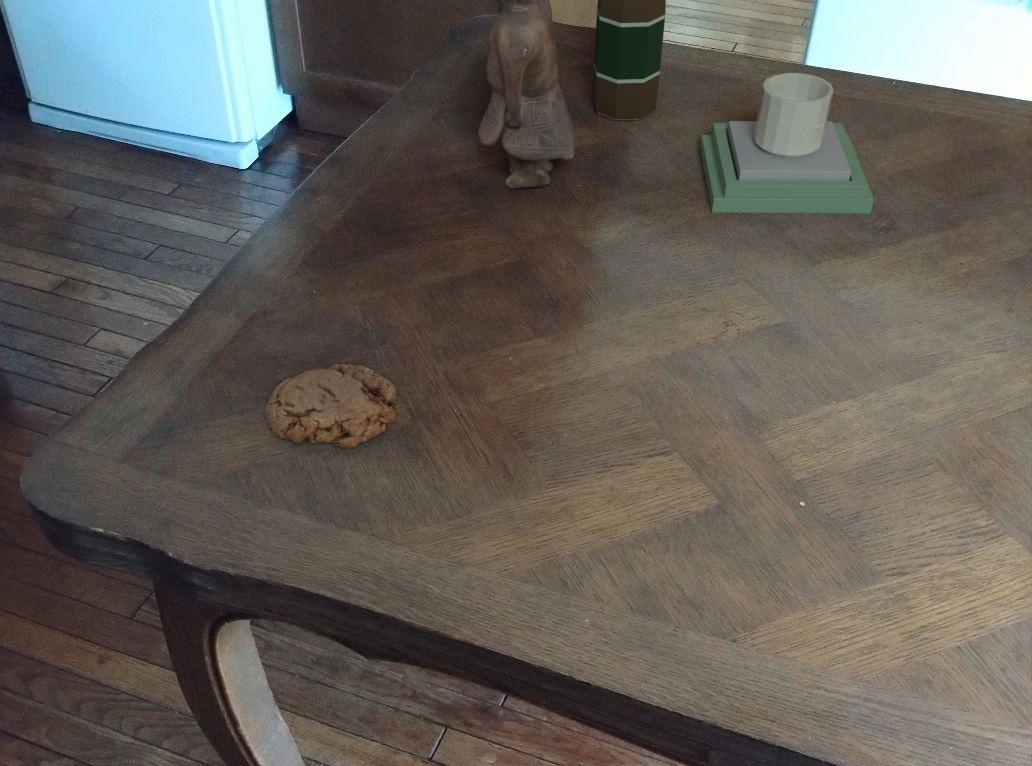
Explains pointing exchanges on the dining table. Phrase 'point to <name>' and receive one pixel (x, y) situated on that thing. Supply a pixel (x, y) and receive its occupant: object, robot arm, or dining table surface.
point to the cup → (793, 114)
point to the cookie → (332, 406)
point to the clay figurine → (526, 94)
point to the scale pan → (786, 158)
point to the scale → (780, 184)
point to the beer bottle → (628, 57)
